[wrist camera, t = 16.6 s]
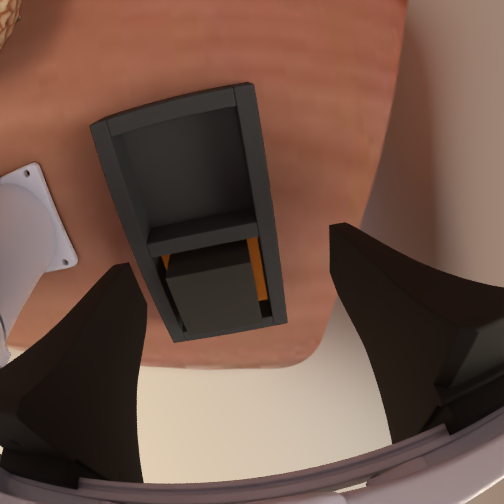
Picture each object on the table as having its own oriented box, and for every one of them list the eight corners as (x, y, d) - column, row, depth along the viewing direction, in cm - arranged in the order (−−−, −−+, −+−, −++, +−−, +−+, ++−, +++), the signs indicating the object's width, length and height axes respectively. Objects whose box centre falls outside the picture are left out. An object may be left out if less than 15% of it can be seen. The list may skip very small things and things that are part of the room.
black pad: (190, 306, 23) (188, 336, 20) (169, 250, 20) (164, 278, 18) (257, 294, 23) (263, 323, 20) (245, 235, 20) (251, 262, 18)
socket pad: (175, 319, 24) (173, 343, 22) (103, 117, 16) (88, 125, 14) (281, 300, 25) (287, 323, 22) (248, 81, 16) (254, 83, 14)
